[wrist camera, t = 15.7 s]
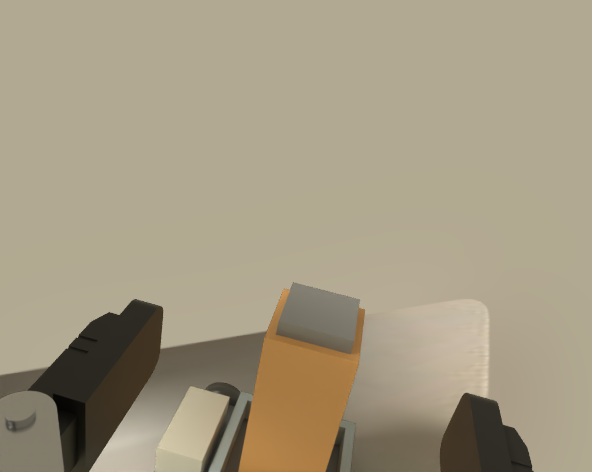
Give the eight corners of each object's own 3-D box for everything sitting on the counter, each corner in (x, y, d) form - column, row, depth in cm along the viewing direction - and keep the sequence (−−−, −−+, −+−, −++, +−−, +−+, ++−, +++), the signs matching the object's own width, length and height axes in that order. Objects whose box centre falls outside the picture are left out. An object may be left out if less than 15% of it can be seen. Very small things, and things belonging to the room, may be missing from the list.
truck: (130, 539, 28) (133, 485, 26) (196, 407, 37) (202, 360, 35) (327, 601, 27) (346, 550, 25) (346, 450, 36) (361, 404, 34)
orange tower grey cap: (311, 517, 28) (363, 349, 23) (233, 494, 29) (267, 323, 23) (322, 453, 32) (368, 297, 27) (254, 433, 33) (286, 276, 28)
